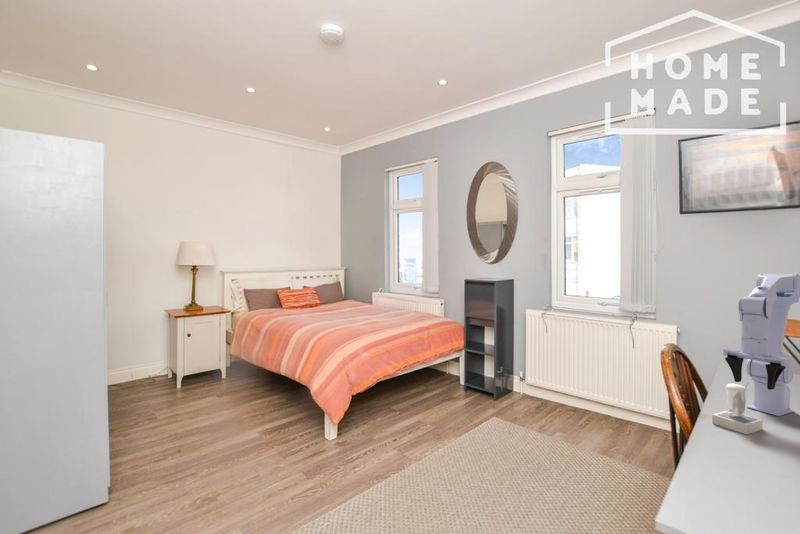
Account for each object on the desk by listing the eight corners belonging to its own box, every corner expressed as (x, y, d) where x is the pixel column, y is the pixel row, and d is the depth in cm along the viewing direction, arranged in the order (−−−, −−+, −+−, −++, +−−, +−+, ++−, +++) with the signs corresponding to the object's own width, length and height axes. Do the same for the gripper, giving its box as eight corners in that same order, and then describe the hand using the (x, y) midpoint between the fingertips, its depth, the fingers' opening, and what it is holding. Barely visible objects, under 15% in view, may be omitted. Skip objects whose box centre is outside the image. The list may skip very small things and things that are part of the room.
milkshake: (754, 420, 106) (754, 384, 105) (732, 419, 106) (732, 383, 106) (742, 414, 110) (742, 379, 110) (721, 413, 111) (721, 378, 111)
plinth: (728, 418, 113) (728, 409, 113) (762, 429, 106) (762, 419, 106) (712, 423, 110) (712, 414, 110) (746, 434, 103) (746, 424, 103)
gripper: (717, 334, 117) (716, 379, 117) (780, 343, 103) (779, 394, 103) (730, 333, 119) (729, 377, 119) (793, 342, 106) (792, 391, 106)
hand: (753, 385), depth 112 cm, fingers open, 7 cm apart
